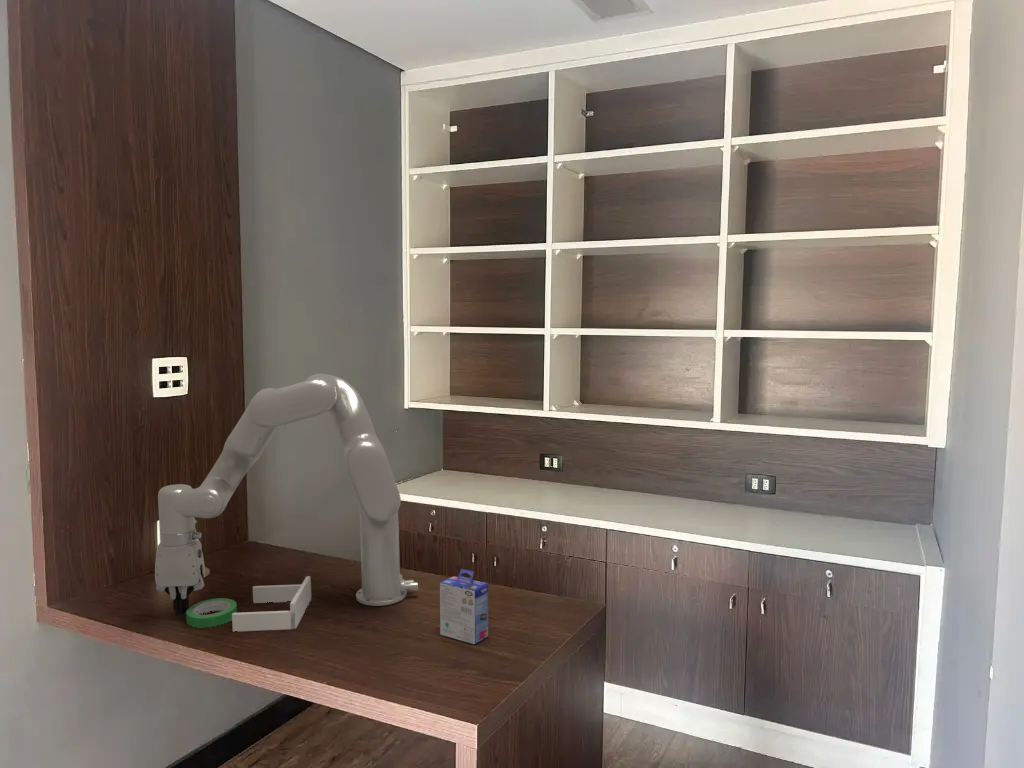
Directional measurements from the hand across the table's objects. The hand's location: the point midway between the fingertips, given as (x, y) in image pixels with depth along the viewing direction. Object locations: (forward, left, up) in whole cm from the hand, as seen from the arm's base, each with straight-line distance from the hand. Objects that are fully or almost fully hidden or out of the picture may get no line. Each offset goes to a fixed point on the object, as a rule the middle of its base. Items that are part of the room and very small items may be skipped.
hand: (181, 613), depth 169 cm
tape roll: (-7, 0, -2) cm, 7 cm away
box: (-21, 0, -1) cm, 21 cm away
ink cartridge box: (-67, +15, -2) cm, 69 cm away
